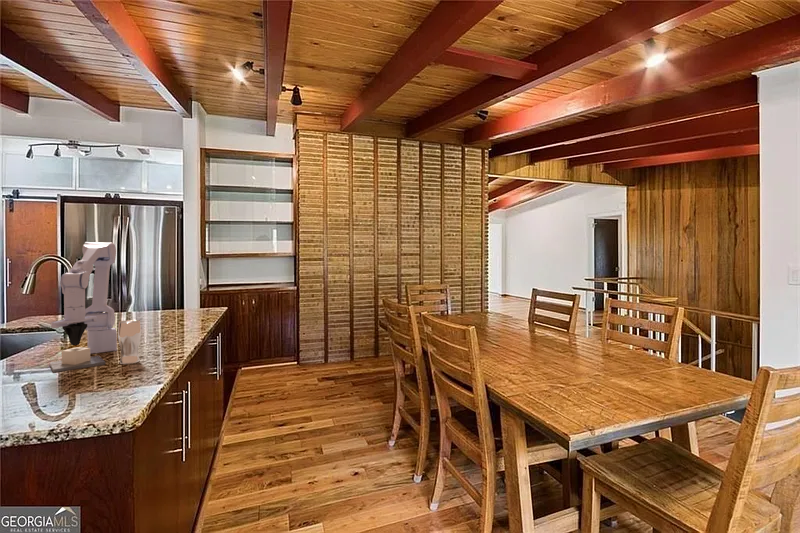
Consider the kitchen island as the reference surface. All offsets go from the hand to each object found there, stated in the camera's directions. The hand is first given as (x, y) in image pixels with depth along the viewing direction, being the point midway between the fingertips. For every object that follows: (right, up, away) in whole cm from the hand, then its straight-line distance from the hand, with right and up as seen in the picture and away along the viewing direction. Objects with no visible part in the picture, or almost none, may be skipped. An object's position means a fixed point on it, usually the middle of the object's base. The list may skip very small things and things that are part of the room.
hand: (75, 344), depth 140 cm
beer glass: (+16, -8, +5) cm, 18 cm away
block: (0, -6, +1) cm, 6 cm away
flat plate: (0, -7, +1) cm, 7 cm away
